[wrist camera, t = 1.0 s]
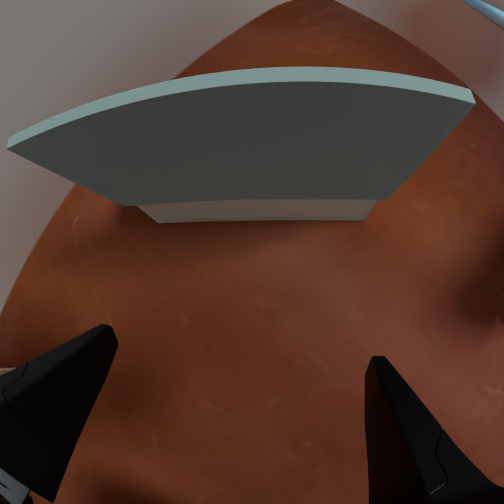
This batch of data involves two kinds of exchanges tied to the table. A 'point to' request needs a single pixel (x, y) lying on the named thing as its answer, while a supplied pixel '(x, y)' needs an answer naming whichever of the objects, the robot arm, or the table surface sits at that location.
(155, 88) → the box lid
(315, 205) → the cream box
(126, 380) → the table surface
